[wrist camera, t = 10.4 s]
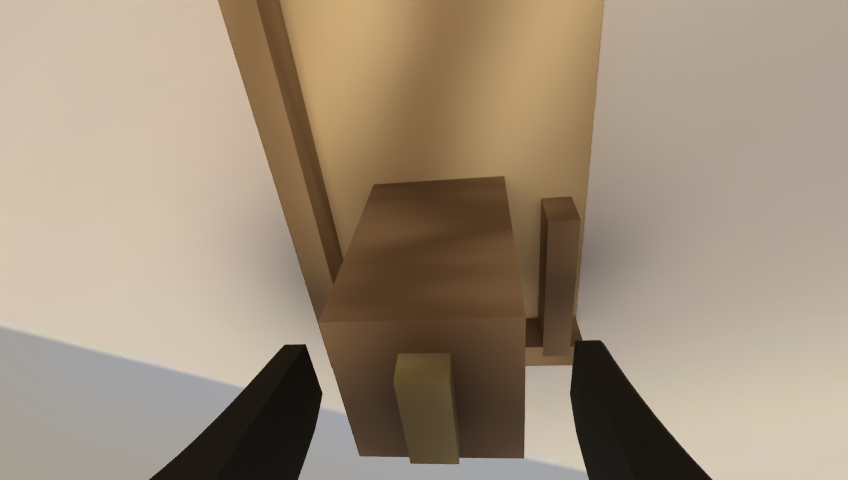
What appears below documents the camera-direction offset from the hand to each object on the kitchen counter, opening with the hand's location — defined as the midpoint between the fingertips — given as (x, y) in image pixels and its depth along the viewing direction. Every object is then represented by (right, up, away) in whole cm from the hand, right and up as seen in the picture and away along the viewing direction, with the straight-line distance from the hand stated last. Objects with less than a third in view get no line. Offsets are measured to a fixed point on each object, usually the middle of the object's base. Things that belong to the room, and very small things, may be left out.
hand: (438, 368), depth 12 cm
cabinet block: (0, +3, +5) cm, 6 cm away
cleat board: (0, +7, +3) cm, 8 cm away
